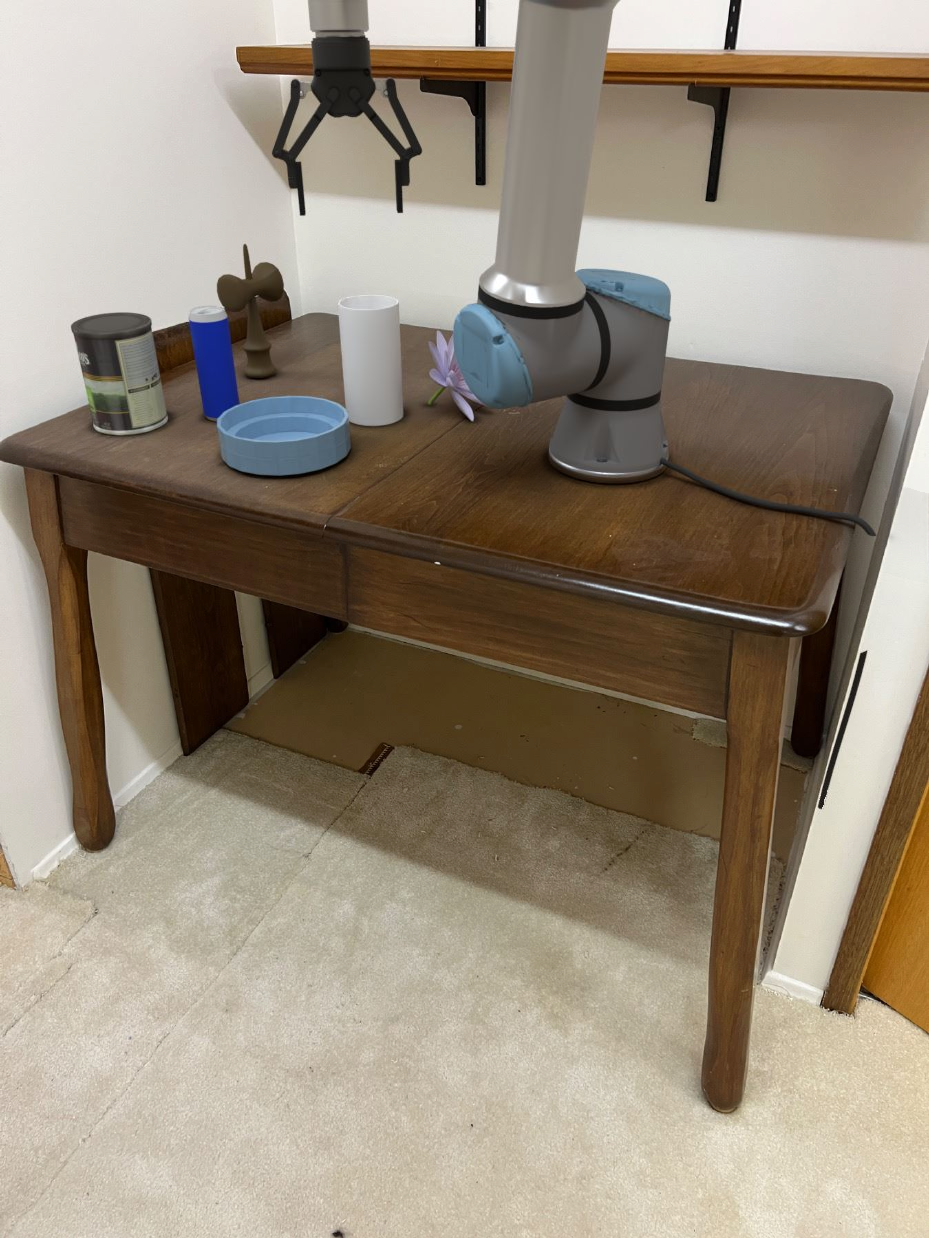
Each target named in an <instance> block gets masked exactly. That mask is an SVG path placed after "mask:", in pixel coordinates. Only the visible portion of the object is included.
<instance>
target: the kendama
mask: <svg viewBox="0 0 929 1238" xmlns="http://www.w3.org/2000/svg"><path fill="white" fill-rule="evenodd" d="M242 256H243V265H244V266H243V267H244V276H245V277H244V278H240V277H239V276H236V275H233V274H230V273H228V274H227V273H226V274H222V275H220V276H219V277H218V278H217V282H216V293H217V297H218V301H219V302H220V304H221V307H223V308H224V309H225V310H226V311H229V312H232V313H240V312H241V311H243V310H244V309H245V308H246V307H247V328H246V329H247V330H246V331H247V332H246V340H245V343H244V344H243V345H242V347H241V348H242V350H243V351H244V352H245V354H246V359H247V361H246V366H245V368H244V370H243V374H244V375H245V376H246V377H249V378H253V379H263V378H268V377H271V376H273V375H275V374H276V373H277V371H278V369H277V367H276V365H274V363H273V361H272V358H271V353H270V352H271V349H272V347H273V344H272V343H271V342H270V341H269V340H268V339H267V337H266V334H265V331H264V328H263V324H262V320H261V315H260V311H259V308H258V302H257V297H258V298H260V299H261V300H264V301H267V302H269V303H275V302H278V301H279V300H281V299H282V298H283V295H284V291H285V283H284V278H283V275H282V273H281V271H280V270H279V268H278V267H277V266H276V265H274V264H273V263H270V262H268V261H262V262H258V263H257V264H256V265H255V266H254V268H253V270H252V266H251V260H250V253H249V248H248V245H247V244H246V243H243V245H242Z"/></svg>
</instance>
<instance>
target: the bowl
mask: <svg viewBox="0 0 929 1238" xmlns="http://www.w3.org/2000/svg"><path fill="white" fill-rule="evenodd" d="M216 429H217V436H218V440H219V441H218V442H219V448H220V456H221V459H222V460H223V461H224V463H225V464H226V465H227V466H228V467H230V468H233V469H235V470H237V471H239V472H243V473H248V474H253V475H259V476H289V475H290V476H291V475H301V474H305V473H312V472H315V471H319V470H322V469H323V470H324V469H326V468H327V467H330V466H333V465H335V464H337V463H339V462H340V461H341V460H343V459H344V458H346V457H347V456H348V454H349V452H350V450H351V449H352V443H351V430H350V421H349V416H348V412H347V409H346V407H344V406H343V405H342V404H340V403H338V402H336V401H332V400H330V399H326V398H322V397H317V396H309V395H281V396H269V397H264V398H259V399H252V400H248V401H246V402H242V403H240V404H239V405H236V406H234V407H232V408H230V409H228V410H227V411H225V412H223V413H222V415H221V416H220V417H219V418H218V419H217V421H216Z"/></svg>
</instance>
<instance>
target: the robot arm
mask: <svg viewBox="0 0 929 1238" xmlns="http://www.w3.org/2000/svg"><path fill="white" fill-rule="evenodd" d="M620 2H621V0H518V8H517V9H518V10H517V20H516V21H517V22H516V31H515V40H514V41H515V43H514V53H513V63H512V74H511V85H510V95H509V107H508V117H507V126H506V127H507V128H506V139H505V149H504V161H503V172H502V183H501V193H500V203H499V205H500V206H499V215H498V226H497V235H496V236H497V237H496V246H495V255H494V256H495V257H494V263H493V264H492V265H490V266H489V267H488V268H486V270H484V272H482V273H481V275H480V276H479V280H478V289H477V301H476V302H474V303H471V304H467V305H466V306H464V307H463V308H462V309H461V310H460V311H459V313H458V314H457V315H456V317H455V319H454V323H453V326H452V327H453V328H452V335H453V344H454V351H455V356H456V360H457V363H458V366H459V369H460V372H461V374H462V375H463V378H464V380H465V382H466V384H467V386H468V387H469V389H470V390H471V392H472V393H473V394H474V396H475V397H476V398H477V399H478V400H480V401H481V402H482V403H483V404H485V405H487V406H489V407H488V408H490V407H491V409H495V410H504V409H511V408H516V407H517V408H526V407H528V406H529V405H531V404H536V403H539V402H543V401H549V400H552V399H556V398H560V397H565V401H564V404H563V406H562V409H561V412H560V414H559V418H558V420H557V423H556V426H555V429H554V432H553V434H552V435H551V437H550V440H549V445H548V461H549V463H550V465H551V466H552V467H553V468H554V469H556V470H557V471H558V472H560V473H562V474H564V475H566V476H569V477H571V478H575V479H578V480H581V481H582V480H583V481H586V482H591V483H599V484H630V483H637V482H643V481H646V480H651V479H653V478H655V477H657V476H659V475H660V474H662V473H664V472H665V470H666V469H667V468H669V469H671V470H673V471H675V472H677V473H679V474H681V475H683V476H685V477H687V478H688V479H690V480H693V481H694V482H696V483H698V484H700V485H702V486H704V487H706V488H708V489H711V490H713V491H715V492H718V493H720V494H723V495H725V496H727V497H730V498H733V499H736V500H738V501H741V502H745V503H749V504H751V505H755V506H759V507H763V508H768V509H774V510H780V511H787V512H792V513H793V512H794V513H795V512H796V513H800V514H801V513H802V514H807V515H813V516H817V517H820V518H821V517H822V518H826V519H832V520H842V521H847V522H852V523H854V524H856V525H858V526H859V527H861V528H862V529H863V531H864V532H865V533H866V534H867V535H868V536H870V537H877V534H876V532H875V530H874V529H873V528H872V527H871V525H870V524H869V523H868V522H867V521H865V520H864V519H863V518H862V517H860V516H857V515H855V514H850V513H846V512H836V511H828V510H822V509H818V508H814V507H809V506H803V505H796V504H787V503H780V502H775V501H770V500H764V499H761V498H756V497H752V496H750V495H746V494H742V493H740V492H737V491H734V490H732V489H729V488H726V487H724V486H722V485H719V484H717V483H714V482H712V481H710V480H708V479H706V478H704V477H701V476H700V475H698V474H696V473H694V472H693V471H690V470H688V469H686V468H685V467H682V466H680V465H678V464H676V463H674V462H672V461H670V460H669V457H670V452H669V451H670V447H669V441H668V440H667V432H666V428H665V422H664V418H663V414H662V409H661V396H662V389H663V388H662V387H663V378H664V372H665V364H666V363H665V362H666V356H667V355H666V354H667V348H668V341H669V339H668V338H669V332H670V324H671V323H670V322H671V321H672V317H671V304H672V303H671V300H672V294H671V290H670V287H669V286H668V284H666V282H664V281H662V280H660V279H658V278H655V277H653V276H649V275H645V274H641V273H636V272H631V271H630V272H629V271H624V270H616V269H606V268H581V269H578V270H576V265H577V258H578V251H579V246H580V245H579V244H580V239H581V238H580V237H581V230H582V225H583V217H584V209H585V203H586V197H587V191H588V190H587V189H588V184H589V183H588V182H589V175H590V170H591V164H592V163H591V162H592V157H593V156H592V155H593V149H594V141H595V136H596V128H597V121H598V115H599V109H600V101H601V95H602V87H603V81H604V74H605V67H606V61H607V53H608V48H609V47H608V46H609V39H610V33H611V26H612V20H613V14H614V9H615V8H616V6H617V5H618V4H619V3H620ZM307 6H308V19H309V30H310V31H311V32H312V33H314V35H315V37H313V38H312V40H311V41H310V43H311V55H312V56H311V57H312V69H313V77H312V80H311V81H308V80H299V79H298V78H293V79H292V80H291V81H290V98H289V102H288V106H287V108H286V109H285V113H284V116H283V119H282V122H281V125H280V127H279V131H278V134H277V136H276V139H275V142H274V145H273V148H272V151H271V155H272V157H273V158H274V159H278V160H281V161H283V162H284V163H285V164H286V171H287V182H288V183H287V184H288V187H289V188H290V189H291V190H297V199H298V200H297V201H298V210H299V216H300V217H304V216H306V214H307V213H306V200H305V199H306V198H305V190H304V178H303V167H302V161H297V158H298V157H299V156H300V154H301V152H302V150H304V148H305V146H307V143H308V142H309V140H310V139H311V137H312V136H313V134H314V133H315V131H316V130H317V128H318V127H319V126H320V124H321V123H322V121H323V120H324V118H325V117H326V115H329V116H330V117H332V118H334V119H335V118H338V119H339V118H343V117H348V118H358V117H360V116H361V115H362V114H364V115H365V117H367V119H368V120H369V121H370V123H371V124H372V125H373V126H374V127H375V128H376V130H377V131H378V133H380V135H381V136H382V138H383V139H384V140H385V142H387V144H389V146H390V147H391V148H392V149H393V151H394V152H395V153H396V154H397V156H398V157H399V159H394V178H395V179H394V181H395V185H394V186H395V203H396V205H395V206H396V213H397V214H404V201H403V200H404V198H403V187H409V186H410V183H411V175H410V173H411V171H410V163H411V162H410V161H411V160H412V159H413V158H416V157H417V156H421V155H422V153H423V148H422V146H421V144H420V142H419V139H418V137H417V135H416V133H415V131H414V129H413V127H412V125H411V122H410V121H409V119H408V116H407V114H406V112H405V110H404V108H403V106H402V104H401V102H400V99H399V98H398V92H397V84H396V81H395V79H394V78H392V77H390V76H389V77H387V78H386V79H381V80H374V77H373V76H372V63H371V62H372V60H371V43H370V42H371V41H370V40H369V38H368V37H366V35H365V33H367V32H368V31H369V30H370V25H369V24H370V23H369V21H370V20H369V1H368V0H307ZM376 91H378V92H380V94H381V96H382V97H383V98H385V99H387V100H388V103H389V105H390V108H391V109H392V111H393V114H394V115H395V118H396V119H397V123H399V126H400V128H401V130H402V132H403V134H404V137H405V138H406V140H407V142H408V144H409V146H408V147H406V148H405V146H404V145H403V144H402V143H401V142H400V140H399V139H398V138H397V137H396V136H395V134H394V133H393V132H392V130H391V129H390V128H389V127H388V125H387V124H386V123H385V122H384V121H383V120H382V118H381V117H380V115H378V113H377V112H376V110H375V109H374V108H373V107H372V106H371V104H370V101H371V99H372V98H373V96H374V94H375V93H376ZM309 92H312V94H313V96H314V97H315V98H316V100H317V101H318V103H319V105H318V106H317V108H316V110H314V113H313V114H312V116H311V117H310V119H309V120H308V122H307V123H306V124H305V126H304V128H303V129H302V130H301V132H300V134H299V135H298V137H297V138H296V139H295V141H294V142H293V144H292V145H291V147H290V149H289V150H287V149H284V148H285V145H286V142H287V139H288V136H289V133H290V130H291V128H292V125H293V122H294V119H295V116H296V113H297V111H298V109H299V105H300V102H301V100H304V99H305V98H306V96H307V94H308V93H309ZM487 406H486V407H487ZM868 651H869V650H868V649H867V650H864V651H862V652H860V653H859V656H858V660H857V664H856V669H855V673H854V676H853V680H852V683H851V686H850V691H849V695H848V698H847V702H846V705H845V709H844V712H843V715H842V719H841V720H840V725H839V729H838V731H837V735H836V738H835V742H834V745H833V747H832V752H831V754H830V758H829V762H828V765H827V768H826V772H825V776H824V780H823V784H822V786H821V787H822V788H821V791H820V795H821V796H819V799H820V800H818V803H817V808H818V809H819V810H823V809H822V807H823V805H824V806H825V804H824V799H825V797H826V798H827V796H828V792H827V790H828V791H829V788H830V785H831V781H832V777H833V773H834V770H835V767H836V763H837V760H838V756H839V753H840V749H841V746H842V743H843V740H844V737H845V733H846V731H847V726H848V724H849V720H850V717H851V714H852V710H853V707H854V703H855V700H856V696H857V694H858V690H859V688H860V687H859V686H860V683H861V680H862V675H863V672H864V667H865V664H866V660H867V656H868ZM826 795H827V796H826Z"/></svg>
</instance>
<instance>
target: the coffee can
mask: <svg viewBox="0 0 929 1238" xmlns="http://www.w3.org/2000/svg"><path fill="white" fill-rule="evenodd" d="M152 327H153V322H152V318H151V317H149V316H148V315H145V314H142V313H138V312H122V311H121V312H120V311H119V312H106V313H99V314H92V315H89V316H85V317H82V318H80V319H77V320H75V321H73V322H72V323H71V325H70V330H71V333H72V334H73V339H74V343H75V348H76V352H77V355H78V360H79V365H80V370H81V374H82V377H83V379H82V380H83V384H84V387H85V391H86V396H87V400H88V405H89V408H90V414H91V419H92V425H93V428H94V430H95V431H96V432H98V433H101V434H105V435H109V436H133V435H139V434H144V433H148V432H152V431H154V430H157V429H159V428H161V427H163V426H164V425H166V424H167V423H168V420H169V416H168V413H167V407H166V402H165V395H164V390H163V385H162V379H161V372H160V368H159V362H158V357H157V350H156V346H155V339H154V334H153V328H152Z"/></svg>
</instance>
